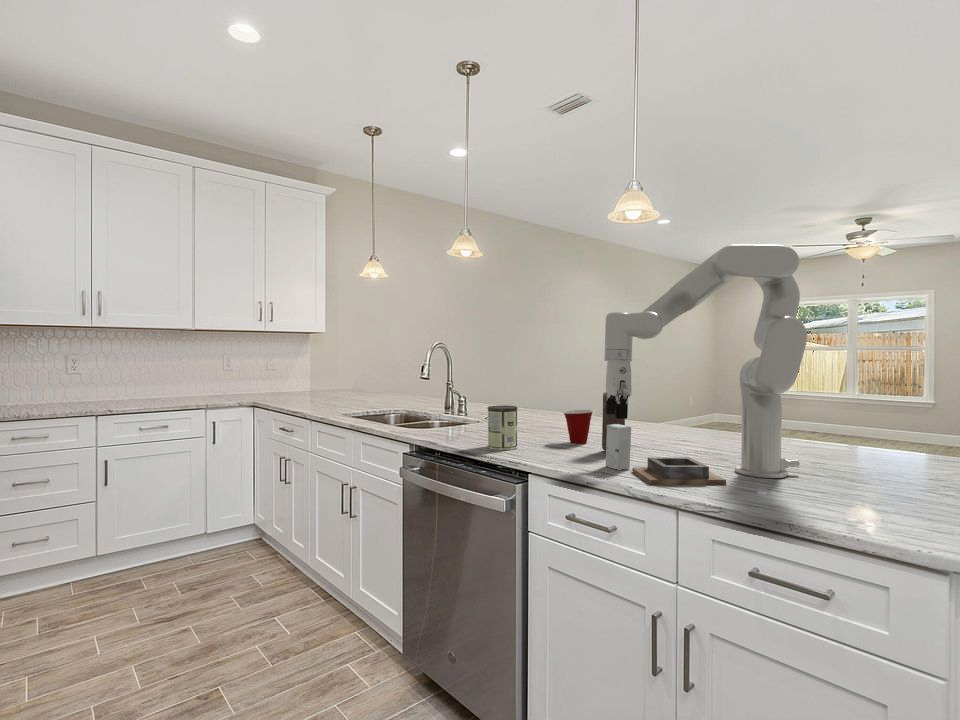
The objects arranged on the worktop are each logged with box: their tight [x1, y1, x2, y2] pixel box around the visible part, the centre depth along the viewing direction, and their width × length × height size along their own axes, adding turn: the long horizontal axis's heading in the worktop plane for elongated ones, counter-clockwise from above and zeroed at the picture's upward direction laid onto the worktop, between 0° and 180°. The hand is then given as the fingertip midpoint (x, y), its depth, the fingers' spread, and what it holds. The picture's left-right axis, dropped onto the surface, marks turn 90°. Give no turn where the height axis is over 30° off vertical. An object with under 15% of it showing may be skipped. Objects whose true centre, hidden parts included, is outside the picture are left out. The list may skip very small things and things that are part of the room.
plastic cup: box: [562, 409, 594, 445], centre depth 187 cm, size 11×11×12 cm
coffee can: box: [487, 405, 519, 451], centre depth 178 cm, size 10×10×14 cm
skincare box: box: [605, 424, 632, 471], centre depth 146 cm, size 6×4×12 cm
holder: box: [632, 456, 727, 486], centre depth 135 cm, size 19×14×4 cm
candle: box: [601, 391, 626, 452], centre depth 169 cm, size 8×7×20 cm
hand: (616, 416), depth 146 cm, fingers open, 9 cm apart
